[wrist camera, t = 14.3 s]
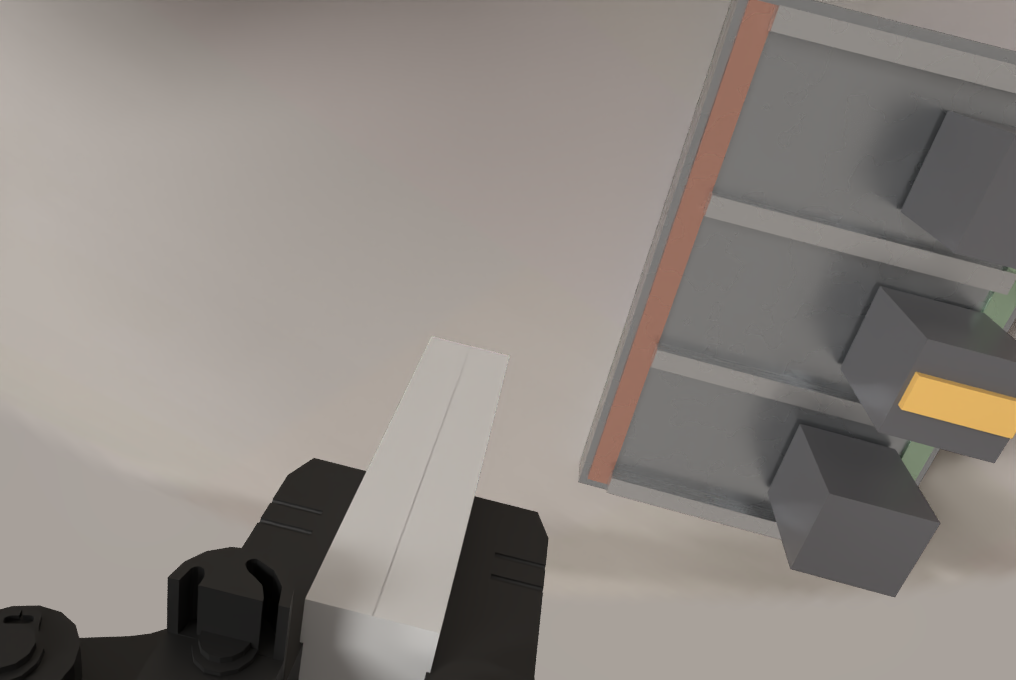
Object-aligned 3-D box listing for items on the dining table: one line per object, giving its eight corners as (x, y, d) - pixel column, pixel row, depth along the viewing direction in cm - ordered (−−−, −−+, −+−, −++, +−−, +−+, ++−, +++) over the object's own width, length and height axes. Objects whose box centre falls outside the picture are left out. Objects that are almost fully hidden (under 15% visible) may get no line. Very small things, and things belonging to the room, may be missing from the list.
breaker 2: (840, 368, 37) (881, 437, 31) (879, 286, 35) (931, 343, 29) (939, 394, 37) (998, 468, 31) (984, 313, 35) (1057, 376, 29)
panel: (580, 462, 44) (577, 492, 41) (737, -17, 33) (747, -18, 30) (863, 538, 44) (879, 574, 41) (1121, 80, 32) (1167, 88, 30)
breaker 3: (767, 492, 41) (790, 569, 35) (799, 423, 39) (829, 493, 33) (857, 516, 40) (894, 597, 35) (895, 449, 39) (940, 523, 33)
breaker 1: (900, 211, 34) (954, 253, 28) (948, 110, 32) (1016, 134, 26) (1010, 239, 34) (1085, 287, 28) (1064, 140, 32) (1157, 170, 26)
